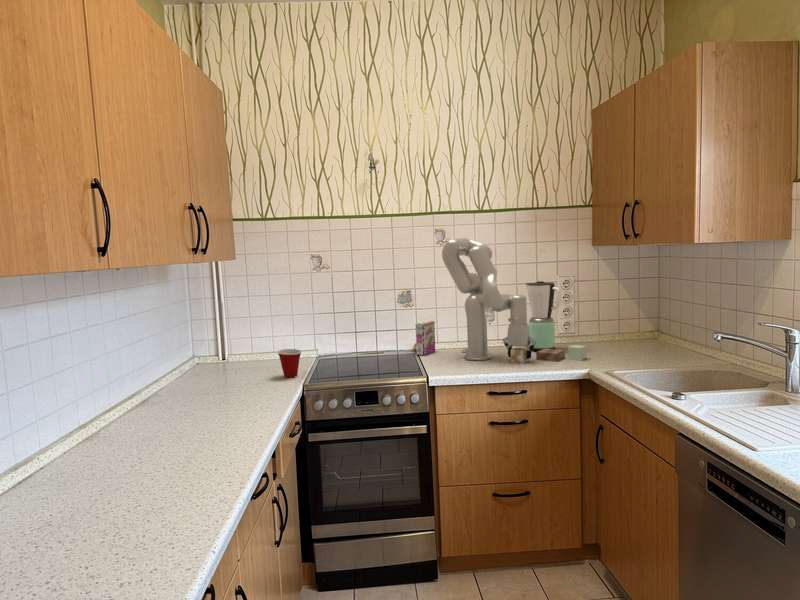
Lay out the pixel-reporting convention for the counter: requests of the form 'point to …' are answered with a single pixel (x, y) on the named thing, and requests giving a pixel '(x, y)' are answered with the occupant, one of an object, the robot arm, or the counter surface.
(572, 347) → the sage painted block
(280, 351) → the plastic cup
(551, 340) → the mint green blender
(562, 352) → the walnut base block
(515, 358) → the ash block
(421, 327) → the candy bar box
